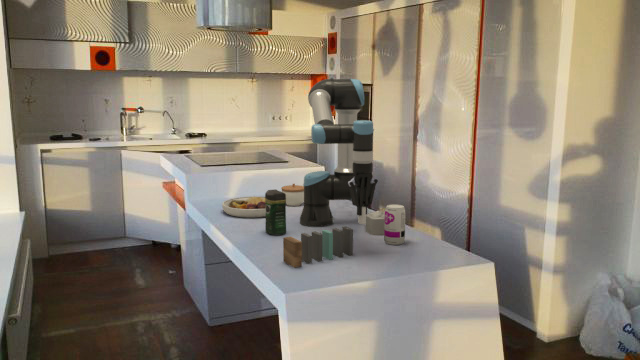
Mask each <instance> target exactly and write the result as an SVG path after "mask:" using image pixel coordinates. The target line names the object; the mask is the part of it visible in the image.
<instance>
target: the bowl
mask: <svg viewBox="0 0 640 360" xmlns="http://www.w3.org/2000/svg"><path fill="white" fill-rule="evenodd" d="M221 205H222V210H223V211H224V213H226V214H227V215H229V216H232V217H234V218H235V217H236V218H243V219H245V218H246V219H259V218H266V203H265V196H255V195H254V196H243V197H242V196H241V197H240V196H239V197H236V198H235V197H234V198H230V199H226V200H223V202H222V203H221Z"/></svg>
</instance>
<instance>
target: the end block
mask: <svg viewBox="0 0 640 360" xmlns="http://www.w3.org/2000/svg"><path fill="white" fill-rule="evenodd" d="M282 241H283V244H282V246H283V248H282V249H283V262H284V263H285V264H287V265H288V266H290V267H292V268H300V267H303V264H302V263H303V261H302V242H301V240H299V239H297V238H295V237H293V236H286V237H283V240H282Z"/></svg>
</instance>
